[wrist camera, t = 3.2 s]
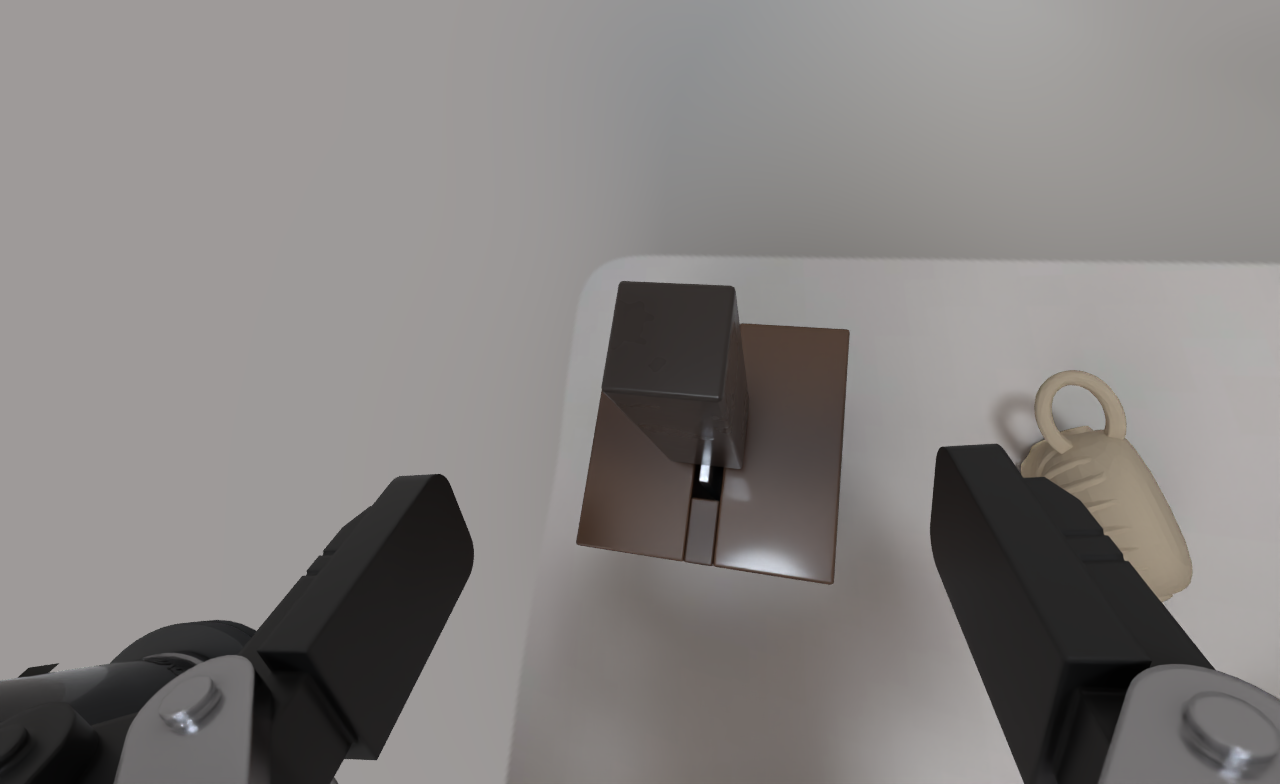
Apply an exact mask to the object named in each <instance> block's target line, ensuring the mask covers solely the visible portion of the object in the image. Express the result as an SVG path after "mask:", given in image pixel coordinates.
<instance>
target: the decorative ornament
mask: <svg viewBox="0 0 1280 784" xmlns="http://www.w3.org/2000/svg"><path fill="white" fill-rule="evenodd" d="M1067 385H1077V386H1080V387H1083V388H1085V389H1087V390H1089V391H1090V392H1091V393H1092V394H1093V395H1094V396H1095V397H1096V398H1097V399H1098V400H1099V402H1100V403H1101V405H1102V407H1103V410H1104V413H1105V418H1106V425H1105V430H1095V431H1093V430H1092V429H1091V428H1090V427H1089V426H1082V427H1077V428H1072V429H1068V430H1064V431H1061V432H1059V431H1058V429H1057V428H1056V425H1055V423H1054V421H1053V416H1052V401H1053V397H1054V396H1055V394H1056V392H1057V391H1058V390H1059V389H1061V388H1062V387H1064V386H1067ZM1034 409H1035V418H1036V421H1037V424H1038V427H1039V429H1040V431H1041V433H1042V435H1043V436H1044V438H1045V439H1044V440H1043V441H1041V442H1039V443H1037V444H1035V445H1033V446H1032V447H1031V449H1030V452H1029V455H1028V456H1027V458H1026V459H1025V460H1024V461H1023V462H1022V464H1021V475H1022V476H1023V478H1029V477H1046V478H1047V479H1049V480H1050V481H1052V482H1053V483H1055V484H1056V485H1058V486H1059V487H1061V488H1062V489H1064V490H1066V491H1067V492H1069V493H1070V494H1072V495H1073V496H1075V497H1076V498H1078V499H1079V500H1081V502H1082V503H1083V504H1084V505H1085V507H1086V508H1087V509H1088V510H1089V512H1090V513H1091V514H1092V515H1093V517H1094V518H1095V519H1096V520H1097V522H1098V523H1099V524H1100V526H1101V527H1102V528H1103V529H1104V530H1103V532H1104V535H1108V536H1109V537H1110V538H1111V539H1112V541H1113V542H1114V543H1115V544H1116V546H1117V547H1118V548H1119V549H1120V551H1121V552H1122V553H1123V558H1124V560H1125V561H1129V562H1130V563H1131V565H1132V566H1133V567H1134V568H1135V570H1136V571H1137V572H1138V573H1139V575H1140V576H1141V577H1142V578H1143V580H1144V581H1145V582H1146V583H1147V585H1148V586H1149V587H1150V589H1151V590H1152V591H1153V592H1154V594H1155V595H1156V596H1157V597H1158V599H1159V600H1160V601H1161V602H1163V601H1166V600H1168V599H1170V598H1171V597H1172V596H1173V595H1172V594H1175V593H1177V592H1180V591H1182V590H1184V589H1185V588H1187V587H1188V585H1189V584H1190V582H1191V578H1192V573H1193V572H1192V562H1191V559H1190V555H1189V552H1188V549H1187V545H1186V542H1185V539H1184V537H1183V535H1182V533H1181V530H1180V528H1179V526H1178V524H1177V522H1176V519H1175V517H1174V515H1173V513H1172V511H1171V508H1170V506H1169V505H1168V503H1167V501H1166V499H1165V497H1164V495H1163V493H1162V492H1161V490H1160V488H1159V486H1158V484H1157V482H1156V481H1155V479H1154V477H1153V475H1152V473H1151V471H1150V470H1149V468H1148V467H1147V466H1146V464H1145V463H1144V461H1143V460H1142V458H1141V457H1140V456H1139V454H1138V453H1137V451H1136V450H1135V448H1134V447H1133V446H1132V445H1131V444H1130V442H1129V441H1128V440H1127V439H1125V435H1126V416H1125V413H1124V410H1123V407H1122V405H1121V403H1120V401H1119V399H1118V397H1117V396H1116V395H1115V393H1114V392H1113V391H1112V389H1111V388H1110V387H1109V386H1108V385H1107V384H1106V383H1105V382H1104V381H1102V380H1101V379H1099V378H1098V377H1096V376H1094V375H1092V374H1089V373H1086V372H1083V371H1075V370H1071V371H1063V372H1060V373H1057V374H1055V375H1053V376H1051V377H1050V378H1048V379H1047V380H1046V381H1045V382H1044V383H1043V384H1042V385H1041V386H1040V388H1039V390H1038V392H1037V394H1036V399H1035V406H1034Z"/></svg>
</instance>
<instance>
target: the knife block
mask: <svg viewBox="0 0 1280 784" xmlns="http://www.w3.org/2000/svg"><path fill="white" fill-rule="evenodd" d="M740 331H741V340H742V348H743V356H744V364H745V372H746V380H747V388H748V396H749V408H748V417H747V427H746V437H745V446H744V456H743V465H742V468H741V469H734V468H726V467H724V469H723V478H722V487H721V495H720V502H719V501H718V500H715V499H714V497H713V496H712V495H711V494H710V493H709V492H708V491H707V489H706V488H705V487H704V486H703V485H702V484H701V483H700V482H699V476H700V468H701V465H700V464H692V463H683V462H674V461H671V460H670V459H669V458H668V457H667V456H666V455H665V454H664V453H663V452H662V451H661V450H660V449H659V448H658V447H657V446H656V445H655V444H654V443H653V442H652V441H651V440H650V439H649V438H648V437H647V436H646V435H645V434H644V433H643V432H642V431H641V430H640V429H639V428H638V427H637V426H636V425H635V424H634V423H633V422H632V421H631V420H630V419H629V418H628V416H627V415H626V414H625V413H624V412H623V411H622V410H621V409H620V408H619V407H618V406H617V405H616V404H615V403H614V402H613V401H612V400H611V399H610V398H609V397H608V396H607V395H606V394H605V393H604V392H603V391H602V392H601V398H600V404H599V410H598V416H597V421H596V427H595V433H594V439H593V445H592V451H591V457H590V463H589V469H588V475H587V481H586V487H585V493H584V499H583V505H582V511H581V517H580V523H579V529H578V535H577V540H576V543H577V545H580V546H587V547H593V548H600V549H606V550H612V551H619V552H625V553H631V554H638V555H644V556H650V557H657V558H663V559H669V560H676V561H685V562H688V563H695V564H701V565H707V566H715V567H720V568H727V569H733V570H739V571H746V572H752V573H758V574H765V575H771V576H777V577H784V578H790V579H796V580H803V581H809V582H815V583H822V584H828V585H832V584H833V583H834V572H835V557H836V541H837V525H838V509H839V493H840V477H841V461H842V446H843V430H844V414H845V398H846V382H847V366H848V350H849V335H850V332H849V330H845V329H828V328H811V327H794V326H777V325H760V324H743V323H742V324H740Z"/></svg>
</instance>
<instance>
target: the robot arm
mask: <svg viewBox="0 0 1280 784" xmlns="http://www.w3.org/2000/svg"><path fill="white" fill-rule="evenodd" d="M1103 530H1104V529H1103V528H1102V527H1101V526H1100V524H1099V523H1098V522H1097V520H1096V519H1095V518H1094V517H1093V515H1092V514H1091V513H1090V512H1089V510H1088V509H1087V508H1086V507H1085V505H1084V504H1083V503H1082V502H1081V500H1079V499H1078V498H1076V497H1075V496H1073V495H1072V494H1070V493H1069V492H1067V491H1066V490H1064V489H1062V488H1061V487H1059V486H1058V485H1056V484H1055V483H1053V482H1052V481H1050V480H1049V479H1047V478H1046V477H1029V478H1023V476H1022V475H1021V473H1020V472H1019V470H1018V469H1017V468H1016V466H1015V465H1014V463H1013V462H1012V460H1011V459H1010V458H1009V456H1008V455H1007V453H1006V452H1005V450H1004V449H1003V448H1002V447H1001V446H1000V445H998V444H983V445H965V446H948V447H941V448H940V449H939V450H938V453H937V457H936V466H935V477H934V488H933V500H932V511H931V522H930V537H931V546H932V552H933V557H934V561H935V564H936V567H937V570H938V572H939V575H940V577H941V580H942V582H943V585H944V587H945V590H946V592H947V595H948V597H949V599H950V602H951V604H952V607H953V609H954V612H955V614H956V617H957V619H958V622H959V624H960V627H961V629H962V631H963V634H964V636H965V639H966V641H967V644H968V646H969V649H970V651H971V654H972V656H973V659H974V661H975V664H976V666H977V668H978V671H979V673H980V676H981V678H982V681H983V683H984V686H985V688H986V691H987V693H988V696H989V698H990V700H991V703H992V705H993V708H994V710H995V713H996V715H997V718H998V720H999V723H1000V725H1001V728H1002V730H1003V733H1004V735H1005V737H1006V740H1007V742H1008V745H1009V747H1010V750H1011V752H1012V755H1013V757H1014V760H1015V762H1016V765H1017V767H1018V769H1019V772H1020V774H1021V777H1022V779H1023V782H1024V784H1280V700H1279V699H1277V698H1276V697H1274V696H1272V695H1271V694H1269V693H1267V692H1265V691H1263V690H1262V689H1260V688H1258V687H1256V686H1254V685H1252V684H1250V683H1248V682H1246V681H1243V680H1241V679H1239V678H1237V677H1234V676H1231V675H1228V674H1225V673H1223V672H1220V671H1216V670H1215V669H1214V667H1213V666H1212V665H1211V664H1210V663H1209V662H1208V660H1207V659H1206V658H1205V657H1204V655H1203V654H1202V653H1201V652H1200V650H1199V649H1198V648H1197V647H1196V645H1195V644H1194V643H1193V641H1192V640H1191V639H1190V638H1189V636H1188V635H1187V634H1186V633H1185V631H1184V630H1183V629H1182V628H1181V626H1180V625H1179V624H1178V623H1177V621H1176V620H1175V619H1174V618H1173V616H1172V615H1171V614H1170V612H1169V611H1168V610H1167V609H1166V607H1165V606H1164V605H1163V604H1162V602H1161V601H1160V600H1159V599H1158V597H1157V596H1156V595H1155V594H1154V592H1153V591H1152V590H1151V589H1150V587H1149V586H1148V585H1147V583H1146V582H1145V581H1144V580H1143V578H1142V577H1141V576H1140V575H1139V573H1138V572H1137V571H1136V570H1135V568H1134V567H1133V566H1132V565H1131V563H1130V562H1129V561H1125V560H1124V558H1123V553H1122V552H1121V551H1120V549H1119V548H1118V547H1117V546H1116V544H1115V543H1114V542H1113V541H1112V539H1111V538H1110V537H1109V536H1108V535H1104V532H1103ZM323 552H324V553H323V556H319V557H318V558H317V559H316V560H315V561H314V563H313V564H312V565H311V566H310V568H309V569H308V570H307V575H306V576H302V577H301V578H300V579H299V581H298V582H297V583H296V584H295V585H294V587H293V588H292V589H291V590H290V592H289V593H288V594H287V595H286V596H285V598H284V599H283V600H282V601H281V603H280V604H279V605H278V606H277V607H276V608H275V610H274V611H273V612H272V613H271V615H270V616H269V617H268V618H267V620H266V621H265V622H264V623H263V624H262V625H261V627H260V628H259V629H258V630H257V631H256V633H255V634H254V635H253V636H252V637H251V639H250V640H249V641H248V642H247V643H246V645H245V646H244V647H243V648H242V650H241V651H240V652H239V653H238V654H237V655H226V656H221V657H216V658H213V659H210V658H208V657H206V656H204V655H201V654H198V653H194V652H188V651H175V652H168V653H162V654H155V655H151V656H147V657H144V658H142V659H137V660H131V661H124V662H118V663H112V664H106V665H99V666H94V667H84V668H79V669H72V670H65V671H59V672H53V673H49V672H50V671H51V670H52V669H53V668H54V667H56V666H57V665H58V664H51V665H44V666H38V667H31V668H28V669H27V670H26V671H25V672H23V673H22V674H21V675H20V676H19V677H18V678H15V679H8V680H2V681H0V784H338V783H337V781H336V779H335V778H334V776H335V774H336V772H337V770H338V769H339V767H340V765H341V763H342V761H343V760H344V759H362V760H377V759H378V757H379V755H380V753H381V751H382V749H383V747H384V745H385V743H386V741H387V739H388V737H389V735H390V733H391V731H392V729H393V727H394V725H395V723H396V721H397V719H398V717H399V715H400V713H401V711H402V709H403V707H404V705H405V703H406V701H407V699H408V697H409V695H410V693H411V691H412V689H413V687H414V685H415V683H416V681H417V679H418V677H419V676H420V673H421V672H422V670H423V667H424V665H425V664H426V662H427V659H428V657H429V656H430V654H431V652H432V650H433V648H434V646H435V644H436V642H437V640H438V638H439V636H440V633H441V632H442V630H443V628H444V626H445V624H446V622H447V620H448V618H449V616H450V614H451V612H452V610H453V608H454V606H455V604H456V602H457V600H458V598H459V596H460V594H461V592H462V590H463V588H464V586H465V584H466V582H467V580H468V578H469V576H470V574H471V571H472V566H473V560H474V549H473V542H472V539H471V536H470V533H469V531H468V528H467V526H466V523H465V521H464V518H463V516H462V513H461V511H460V508H459V506H458V503H457V501H456V498H455V496H454V493H453V490H452V488H451V486H450V483H449V481H448V480H447V478H445V477H444V476H443V475H441V474H432V475H414V476H399V477H397V478H395V479H394V480H393V481H392V482H391V483H390V484H389V485H388V487H387V488H386V489H385V490H384V492H383V493H382V494H381V495H380V497H379V498H378V499H377V501H376V502H375V503H374V504H373V505H372V506H370V507H369V508H367V509H366V510H365V511H363V512H362V513H361V514H360V515H358V516H357V517H355V518H354V519H353V520H352V521H350V522H349V523H348V524H346V525H345V526H344V527H343V528H342V529H341V530H340V531H339V532H338V534H337V535H336V536H335V537H334V538H333V540H332V541H331V542H330V543H329V545H328V546H327V547H326V548H325V549H324V551H323Z"/></svg>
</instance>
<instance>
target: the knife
mask: <svg viewBox="0 0 1280 784" xmlns="http://www.w3.org/2000/svg"><path fill="white" fill-rule="evenodd" d="M602 391H603V392H604V393H605V394H606V395H607V396H608V397H609V398H610V399H611V400H612V401H613V402H614V403H615V404H616V405H617V406H618V407H619V408H620V409H621V410H622V411H623V412H624V413H625V414H626V415H627V416H628V418H629V419H630V420H631V421H632V422H633V423H634V424H635V425H636V426H637V427H638V428H639V429H640V430H641V431H642V432H643V433H644V434H645V435H646V436H647V437H648V438H649V439H650V440H651V441H652V442H653V443H654V444H655V445H656V446H657V447H658V448H659V449H660V450H661V451H662V452H663V453H664V454H665V455H666V456H667V457H668V458H669V459H670V460H671V461H674V462H683V463H692V464H700V465H701V468H700V476H699V482H700V483H701V484H702V485H703V486H704V487H705V488H706V489H707V491H708V492H709V493H710V494H711V495H712V496H713V497H714V499H715V500H718V501H719V502H720V495H721V487H722V478H723V469H724V467H726V468H734V469H741V468H742V465H743V456H744V446H745V437H746V427H747V417H748V408H749V396H748V388H747V380H746V372H745V364H744V356H743V348H742V340H741V331H740V323H739V315H738V307H737V299H736V291H735V288H734V287H732V286H722V285H699V284H676V283H653V282H630V281H622V282H620V284H619V287H618V293H617V299H616V304H615V310H614V316H613V322H612V328H611V334H610V340H609V346H608V352H607V358H606V364H605V370H604V376H603V382H602Z"/></svg>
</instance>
